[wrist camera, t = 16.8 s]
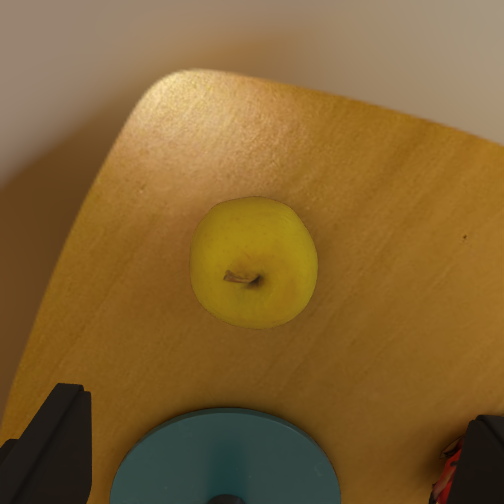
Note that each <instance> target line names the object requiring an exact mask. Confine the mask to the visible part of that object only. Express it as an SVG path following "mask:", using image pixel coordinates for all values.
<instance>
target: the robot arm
mask: <svg viewBox="0 0 504 504" xmlns="http://www.w3.org/2000/svg"><path fill="white" fill-rule="evenodd" d="M91 486H92V423H91V393H90V392H88V391H84V387H83V385H78V384H65V383H58V384H57V385H56V386H55V387H54V388H53V390H52V391H51V393H50V394H49V396H48V397H47V399H46V400H45V402H44V403H43V405H42V406H41V407H40V409H39V410H38V412H37V413H36V415H35V416H34V418H33V419H32V421H31V422H30V424H29V425H28V427H27V428H26V429H25V431H24V432H23V434H22V435H21V437H20V438H19V439H9V440H7V441H6V442H5V443H4V444H3V445H2V447H1V448H0V504H86V503H87V501H88V498H89V495H90V491H91ZM446 504H504V417H502V416H492V415H478V416H477V417H476V419H475V420H472V421H470V422H469V425H468V428H467V431H466V435H465V438H464V442H463V445H462V449H461V452H460V456H459V459H458V463H457V466H456V470H455V473H454V477H453V480H452V484H451V487H450V491H449V494H448V497H447V501H446Z"/></svg>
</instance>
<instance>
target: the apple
mask: <svg viewBox="0 0 504 504" xmlns="http://www.w3.org/2000/svg"><path fill="white" fill-rule="evenodd" d="M189 267H190V280H191V285H192V288H193V291H194V293H195V295H196V297H197V299H198V300H199V302H200V303H201V304H202V306H203V307H204V308H205V309H206V310H207V311H208V312H209V313H210V314H212V315H214V316H215V317H217V318H218V319H220V320H222V321H224V322H226V323H228V324H231V325H234V326H239V327H245V328H250V329H267V328H273V327H276V326H279V325H282V324H284V323H286V322H288V321H290V320H291V319H293V318H294V317H295V316H297V315H298V314H299V313H300V312H301V311H302V310H303V309H304V308H305V306H306V305H307V304H308V302H309V300H310V298H311V296H312V294H313V291H314V288H315V284H316V281H317V272H318V260H317V252H316V249H315V245H314V242H313V239H312V238H311V235H310V233H309V232H308V230H307V229H306V227H305V225H304V224H303V223H302V221H301V220H300V218H299V217H298V216H297V214H296V213H295V212H294V211H293V210H292V209H291V208H290V207H288V206H287V205H285V204H283V203H281V202H278V201H275V200H271V199H268V198H264V197H260V196H254V197H247V198H242V199H235V200H229V201H225V202H222V203H219V204H217V205H216V206H214V207H213V208H212V209H211V210H210V211H209V212H208V213H207V214H206V215H205V217H204V218H203V219H202V220H201V222H200V223H199V225H198V226H197V228H196V230H195V232H194V234H193V237H192V241H191V246H190V263H189Z"/></svg>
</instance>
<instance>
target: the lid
mask: <svg viewBox="0 0 504 504" xmlns="http://www.w3.org/2000/svg"><path fill="white" fill-rule="evenodd" d="M109 504H341V493H340V488H339V484H338V479H337V476H336V473H335V471H334V468H333V466H332V463H331V462H330V460H329V458H328V457H327V455H326V453H325V452H324V451H323V450H322V448H321V447H320V446H319V445H318V444H317V442H315V441H314V440H313V439H312V438H311V437H310V436H309V435H308V434H306V433H305V432H304V431H302V430H301V429H299V428H298V427H296V426H295V425H293V424H291V423H289V422H287V421H285V420H283V419H281V418H279V417H276V416H273V415H270V414H267V413H264V412H259V411H255V410H250V409H242V408H212V409H203V410H199V411H194V412H190V413H186V414H183V415H180V416H178V417H175V418H172V419H170V420H168V421H166V422H164V423H162V424H160V425H158V426H157V427H155V428H154V429H152V430H151V431H149V432H148V433H146V434H145V435H144V436H143V437H142V438H141V439H139V440H138V441H137V442H136V443H135V444H134V445H133V447H132V448H131V449H130V450H129V451H128V452H127V454H126V455H125V457H124V458H123V460H122V462H121V463H120V465H119V467H118V470H117V472H116V474H115V477H114V480H113V484H112V488H111V492H110V501H109Z"/></svg>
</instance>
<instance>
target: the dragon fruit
mask: <svg viewBox="0 0 504 504" xmlns="http://www.w3.org/2000/svg"><path fill="white" fill-rule="evenodd" d="M464 438H465V435H463V436H461V437H459V438H458V439H457V440H456V441H455V442H453V443H452V444H451V445H449V446H448V447H447V449H446V450H444V451H443V452H442V453H441V456H440V457H439V459H441V458H443V457H449V456H451V458H450V459H448V460H447V462H446V464H445V467H444V470H443V473H442V475H441V477H440V479H439V480H438V482H436V483H435V484H432V489H433V490H432V492H431V495H430V499H429V504H436V503H437V502H438V503H439V504H446V501H447V497H448V494H449V491H450V487H451V484H452V480H453V477H454V473H455V470H456V466H457V463H458V459H459V456H460V452H461V449H462V445H463V442H464Z"/></svg>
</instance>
